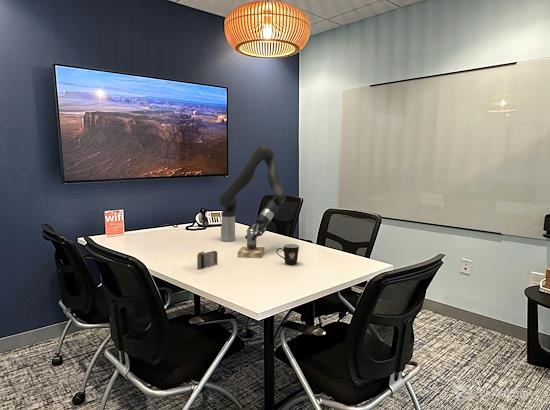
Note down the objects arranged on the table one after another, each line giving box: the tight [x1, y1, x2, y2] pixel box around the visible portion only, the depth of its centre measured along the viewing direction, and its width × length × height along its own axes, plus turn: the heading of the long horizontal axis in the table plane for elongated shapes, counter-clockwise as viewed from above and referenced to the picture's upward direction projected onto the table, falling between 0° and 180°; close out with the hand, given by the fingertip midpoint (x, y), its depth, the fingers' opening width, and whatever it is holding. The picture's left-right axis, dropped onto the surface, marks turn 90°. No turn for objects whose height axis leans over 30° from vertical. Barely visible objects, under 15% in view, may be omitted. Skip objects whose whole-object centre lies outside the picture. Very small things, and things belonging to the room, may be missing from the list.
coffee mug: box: [276, 243, 300, 266], centre depth 203 cm, size 12×9×10 cm
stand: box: [237, 246, 265, 259], centre depth 221 cm, size 14×14×3 cm
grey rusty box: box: [196, 250, 219, 270], centre depth 195 cm, size 11×3×10 cm, turn 138°
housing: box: [246, 228, 257, 249], centre depth 220 cm, size 6×6×11 cm
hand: (249, 239), depth 219 cm, fingers closed on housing, 5 cm apart
